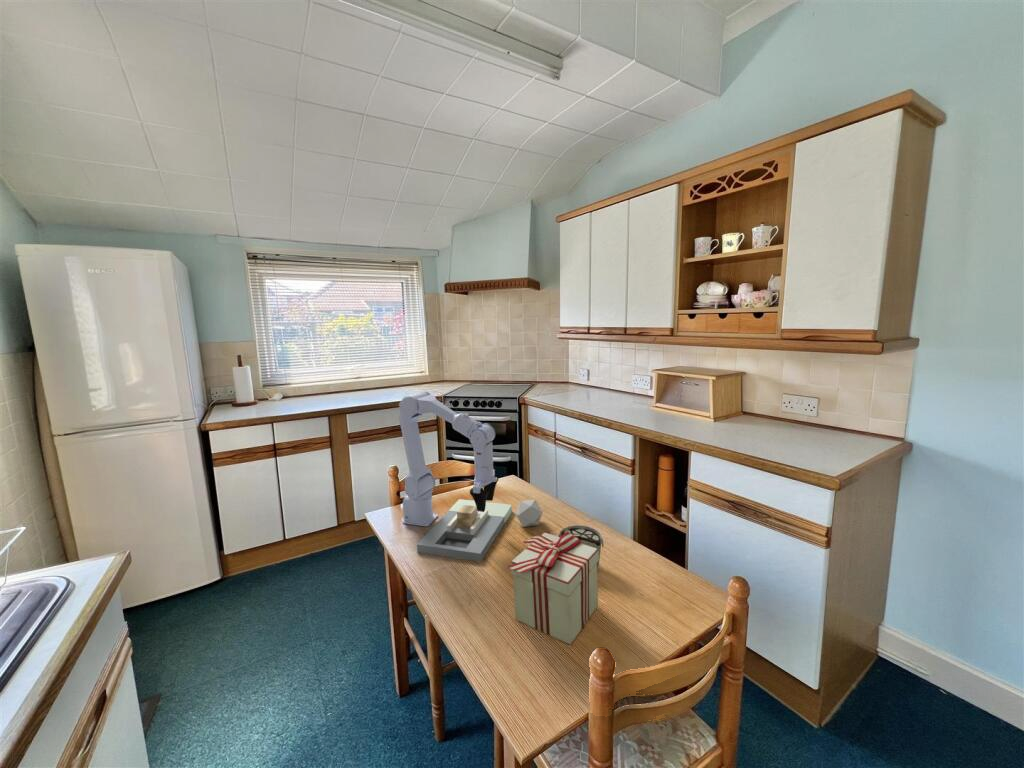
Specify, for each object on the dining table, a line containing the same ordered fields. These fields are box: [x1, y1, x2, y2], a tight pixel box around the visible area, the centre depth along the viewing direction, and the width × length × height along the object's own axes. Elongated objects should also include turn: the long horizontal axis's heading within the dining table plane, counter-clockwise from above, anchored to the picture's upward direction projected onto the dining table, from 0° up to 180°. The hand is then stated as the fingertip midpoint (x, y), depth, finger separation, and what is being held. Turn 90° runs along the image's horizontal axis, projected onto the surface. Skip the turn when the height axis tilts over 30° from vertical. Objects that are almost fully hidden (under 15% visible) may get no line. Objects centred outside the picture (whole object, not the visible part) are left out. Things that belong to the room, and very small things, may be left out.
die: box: [515, 499, 543, 528], centre depth 138 cm, size 8×9×10 cm
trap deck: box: [416, 498, 513, 563], centre depth 136 cm, size 20×31×4 cm, turn 163°
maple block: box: [457, 505, 478, 528], centre depth 135 cm, size 5×5×5 cm
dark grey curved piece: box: [558, 524, 605, 575], centre depth 115 cm, size 12×6×10 cm, turn 65°
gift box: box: [506, 532, 600, 645], centre depth 96 cm, size 17×18×17 cm
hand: (485, 505), depth 131 cm, fingers open, 7 cm apart
